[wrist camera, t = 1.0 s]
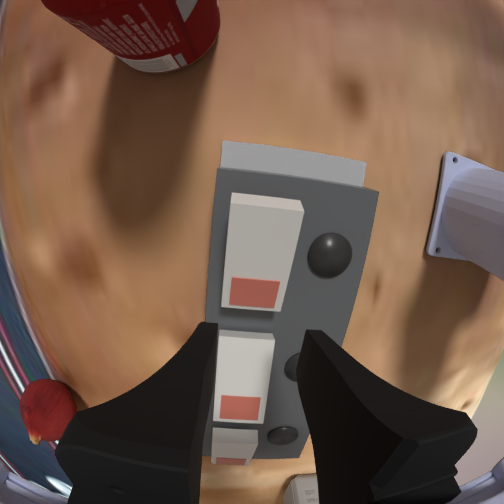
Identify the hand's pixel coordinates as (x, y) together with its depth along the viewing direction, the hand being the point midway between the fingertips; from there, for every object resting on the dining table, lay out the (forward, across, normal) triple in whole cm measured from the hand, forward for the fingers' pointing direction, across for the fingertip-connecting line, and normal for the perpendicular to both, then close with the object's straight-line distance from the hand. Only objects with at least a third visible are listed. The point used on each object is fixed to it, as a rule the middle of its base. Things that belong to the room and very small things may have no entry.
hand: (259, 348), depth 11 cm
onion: (+10, +17, +15) cm, 25 cm away
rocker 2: (+5, 0, -2) cm, 5 cm away
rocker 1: (+5, 0, +14) cm, 15 cm away
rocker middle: (+5, 0, +6) cm, 8 cm away
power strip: (+9, -2, +6) cm, 11 cm away
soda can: (+10, +7, -15) cm, 19 cm away
